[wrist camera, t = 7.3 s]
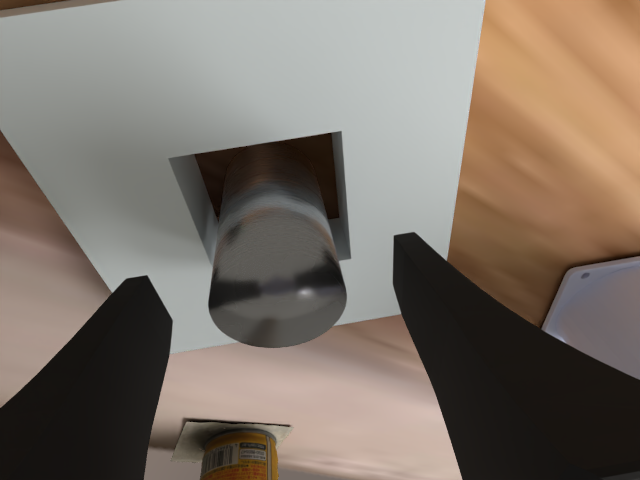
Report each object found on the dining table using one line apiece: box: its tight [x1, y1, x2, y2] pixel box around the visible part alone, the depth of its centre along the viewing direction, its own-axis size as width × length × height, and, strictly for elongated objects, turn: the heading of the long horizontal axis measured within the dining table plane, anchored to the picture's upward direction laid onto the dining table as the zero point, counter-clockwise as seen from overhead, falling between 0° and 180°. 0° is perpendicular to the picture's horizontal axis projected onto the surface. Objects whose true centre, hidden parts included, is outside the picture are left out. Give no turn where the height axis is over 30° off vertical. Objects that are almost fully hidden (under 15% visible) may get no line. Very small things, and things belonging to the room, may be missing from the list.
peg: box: [208, 142, 347, 348], centre depth 13 cm, size 4×4×7 cm
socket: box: [0, 0, 485, 354], centre depth 15 cm, size 14×14×3 cm
